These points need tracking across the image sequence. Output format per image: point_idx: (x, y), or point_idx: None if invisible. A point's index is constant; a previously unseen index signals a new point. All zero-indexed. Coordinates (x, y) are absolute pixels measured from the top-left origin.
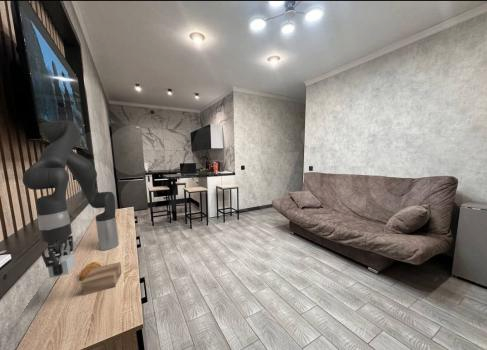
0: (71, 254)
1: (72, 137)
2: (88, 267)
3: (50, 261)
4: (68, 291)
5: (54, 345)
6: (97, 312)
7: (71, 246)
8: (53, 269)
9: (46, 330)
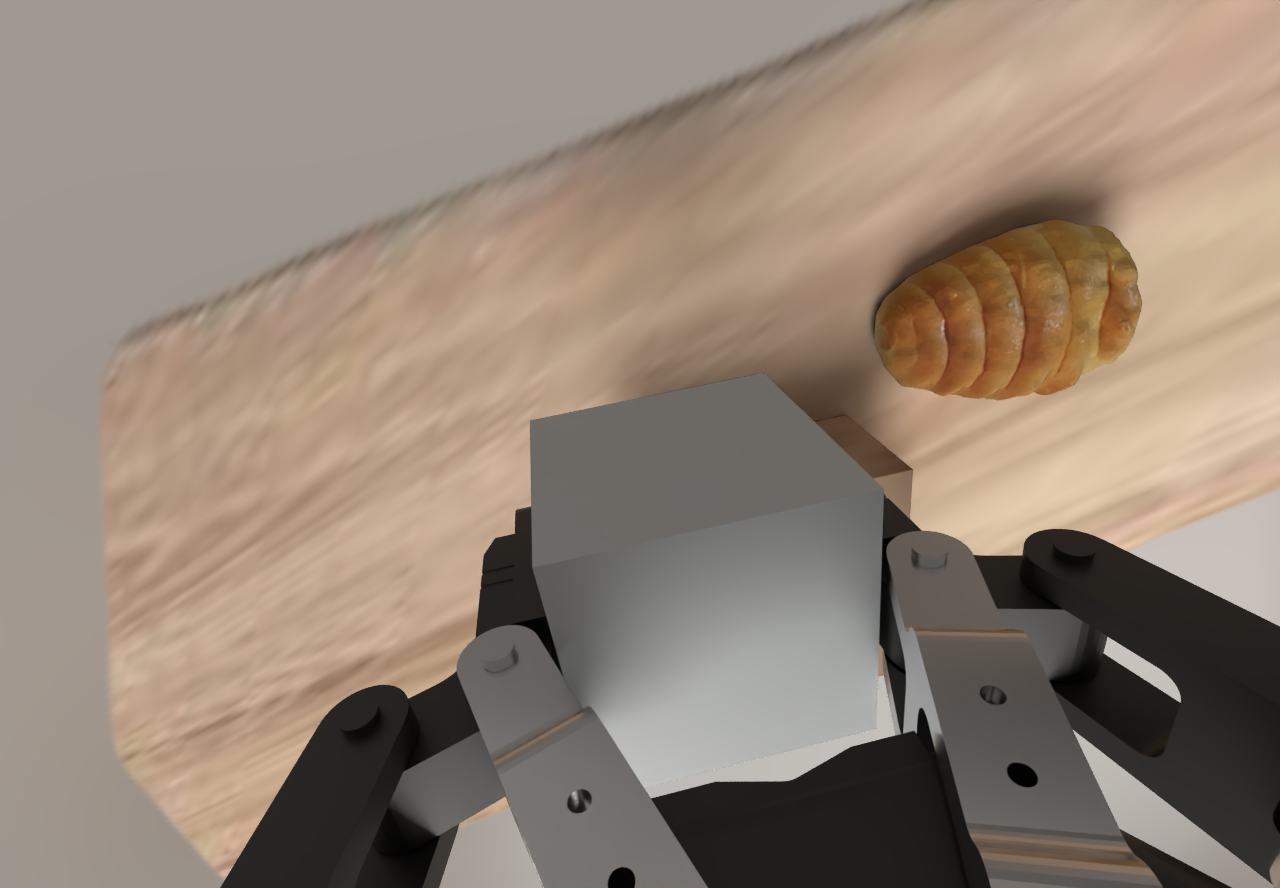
0: (851, 719)
1: None
2: (1036, 329)
3: (480, 731)
4: (736, 276)
5: (107, 605)
6: (381, 678)
7: (1112, 746)
8: (481, 617)
9: (240, 452)
